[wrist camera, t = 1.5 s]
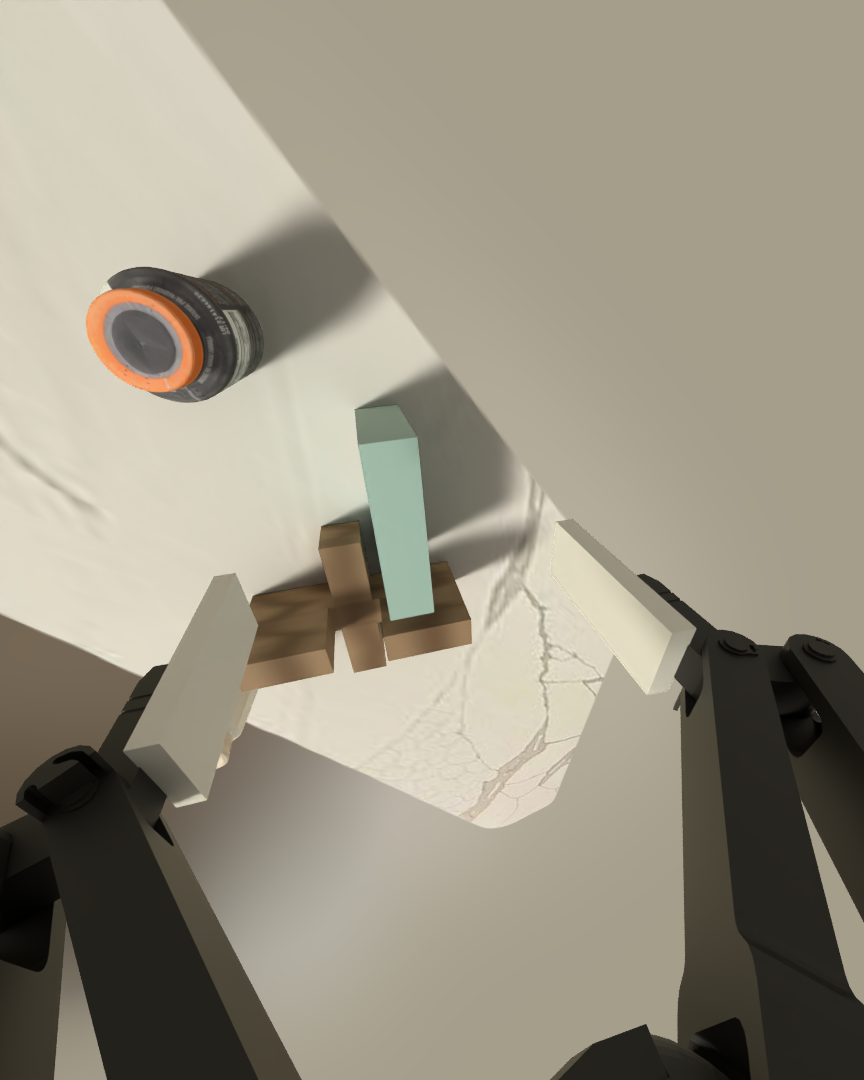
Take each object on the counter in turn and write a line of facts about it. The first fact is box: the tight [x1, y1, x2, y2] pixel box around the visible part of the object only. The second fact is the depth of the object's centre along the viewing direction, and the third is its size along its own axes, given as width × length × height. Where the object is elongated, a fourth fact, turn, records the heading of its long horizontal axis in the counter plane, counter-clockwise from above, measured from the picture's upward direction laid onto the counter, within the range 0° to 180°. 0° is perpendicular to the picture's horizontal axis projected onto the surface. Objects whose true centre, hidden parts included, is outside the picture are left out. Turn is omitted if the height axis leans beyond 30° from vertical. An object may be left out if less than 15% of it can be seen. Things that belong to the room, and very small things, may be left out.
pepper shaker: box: [217, 689, 258, 768], centre depth 36 cm, size 5×5×11 cm
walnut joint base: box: [240, 521, 472, 692], centre depth 35 cm, size 20×16×9 cm
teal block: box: [355, 404, 434, 621], centre depth 29 cm, size 14×4×10 cm, turn 4°
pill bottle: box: [86, 267, 263, 402], centre depth 20 cm, size 6×6×11 cm
